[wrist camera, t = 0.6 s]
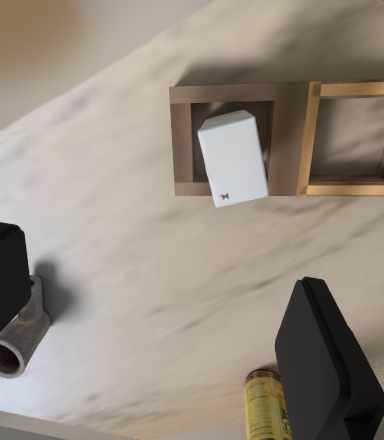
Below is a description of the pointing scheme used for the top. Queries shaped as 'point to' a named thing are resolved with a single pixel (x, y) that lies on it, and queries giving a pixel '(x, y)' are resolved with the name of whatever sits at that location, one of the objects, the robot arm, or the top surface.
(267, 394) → the sauce bottle
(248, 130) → the skincare box
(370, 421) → the robot arm
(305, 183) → the wooden flat frame
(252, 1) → the top surface
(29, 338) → the pipe
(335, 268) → the top surface
